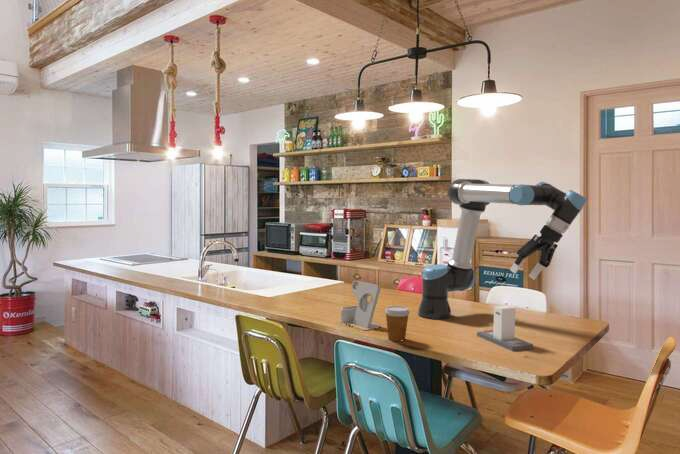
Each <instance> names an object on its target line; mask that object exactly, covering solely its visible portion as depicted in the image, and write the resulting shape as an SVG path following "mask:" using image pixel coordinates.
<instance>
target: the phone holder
mask: <svg viewBox="0 0 680 454" xmlns="http://www.w3.org/2000/svg"><path fill="white" fill-rule="evenodd" d="M357 285H358V286H357ZM356 286H357V287H356ZM380 291H381V286H380V285H378V284H376V283H370V282H367V281H361V280H354V281H352V284H351V292H352V294H353V295H354V296H355V299H356V300H357V305H351V306H345V307H341V308H340V320H339V323H340V322H341V323H344V324H348V325H351V324H355V325H358V326H361V327H364V328H366V329H372V328H376V329H378V328H377V327H380V328H381V327H382V325H381V324H378V323H375V322H373V319H374V318H373V317H374V314H375V311H376V307H377V304H378V300H379V295H380ZM369 297H371V299H370V301H368V298H369ZM341 323H340V324H341ZM344 324H343V325H344ZM355 325H352V326H355ZM358 326H355V327H358ZM361 327H358V328H361ZM364 328H361V329H364ZM372 330H373V329H372Z"/></svg>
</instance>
